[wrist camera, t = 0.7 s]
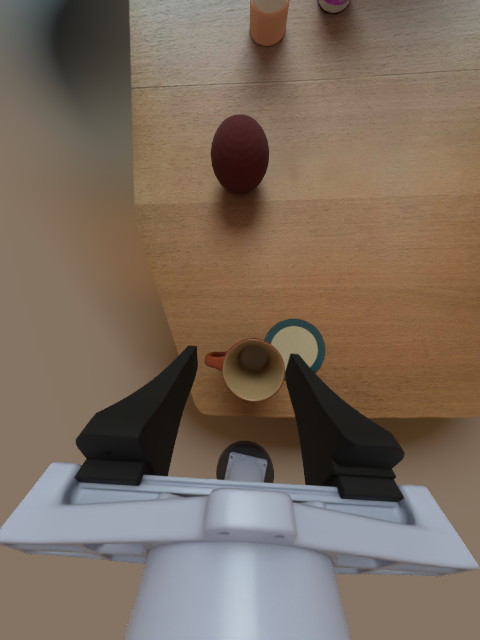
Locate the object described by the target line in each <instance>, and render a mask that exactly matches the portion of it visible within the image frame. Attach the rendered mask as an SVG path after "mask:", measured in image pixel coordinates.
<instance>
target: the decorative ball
mask: <svg viewBox="0 0 480 640" xmlns="http://www.w3.org/2000/svg"><path fill="white" fill-rule="evenodd" d="M211 160H212V167H213V170H214V173H215V176H216V177H217V179H218V181H219V182H220V184H221V185H222V186H223V187H224V188H226V189H227V190H228V191H230V192H232V193H236V194H244V193H247V192H250V191H252V190H253V189H254V188H256V187H257V186H258V185H259V184H260V182H261V181H262V179H263V177H264V175H265V173H266V170H267V167H268V162H269V147H268V141H267V138H266V135H265V133H264V131H263V129H262V127H261V126H260V125H259V124H258V123H257V122H256V120H254V119H253V118H251V117H249V116H247V115H234V116H231V117H229V118H227V119H226V120H224V121H223V122H222V124H221V125H220V126H219V128H218V129H217V131H216V133H215V135H214V138H213V141H212V148H211Z"/></svg>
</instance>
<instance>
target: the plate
mask: <svg viewBox="0 0 480 640" xmlns="http://www.w3.org/2000/svg"><path fill="white" fill-rule="evenodd" d="M264 341H266V342H268V343H270V344H271V345H272V346H274V347H275V348H276V349H277V350H278V351H279V353H280V354H281V356H282V358H283V361H284V365H285V371H286V367H287V364H288V360H289V357H290V354H291V353H292V354H299V355H300V356H301V358H302V359H303V360H304V361H305V362H306V364H307V365H308V366H309V367H310V368H311V369H312V371H313V372H314V373H315V372H316V371H317V370H318V369H319V368H320V366H321V364H322V362H323V360H324V356H325V344H324V340H323V338H322V336H321V334H320V332H319V331H318V330H317V329H316V328H315V327H314V326H313V325H312V324H310V323H308V322H306V321H303V320H299V319H288V320H284V321H281V322H279V323H278V324H276V325H275V326H273V327H272V328H271V329H270V331H269V332H268V333H267V335H266V337H265V340H264ZM284 379H286V376H285V377H284Z"/></svg>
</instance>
